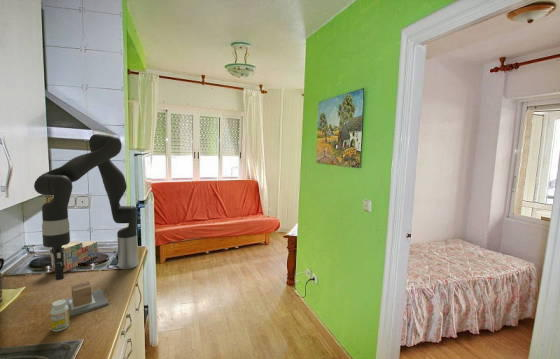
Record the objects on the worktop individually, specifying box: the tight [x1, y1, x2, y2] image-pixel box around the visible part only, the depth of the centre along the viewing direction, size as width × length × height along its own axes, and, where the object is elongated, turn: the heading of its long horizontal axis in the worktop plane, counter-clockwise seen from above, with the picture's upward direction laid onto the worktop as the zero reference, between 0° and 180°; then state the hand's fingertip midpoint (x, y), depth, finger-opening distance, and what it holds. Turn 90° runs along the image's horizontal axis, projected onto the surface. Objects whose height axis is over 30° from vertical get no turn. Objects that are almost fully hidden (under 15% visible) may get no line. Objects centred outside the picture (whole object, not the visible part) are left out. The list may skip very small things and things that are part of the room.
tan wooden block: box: [70, 280, 92, 307], centre depth 116 cm, size 6×6×7 cm
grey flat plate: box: [62, 288, 109, 318], centre depth 116 cm, size 14×16×1 cm
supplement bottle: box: [49, 299, 71, 332], centre depth 101 cm, size 5×5×10 cm
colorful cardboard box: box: [49, 240, 99, 273], centre depth 151 cm, size 21×6×12 cm, turn 165°
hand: (58, 275), depth 100 cm, fingers open, 8 cm apart
